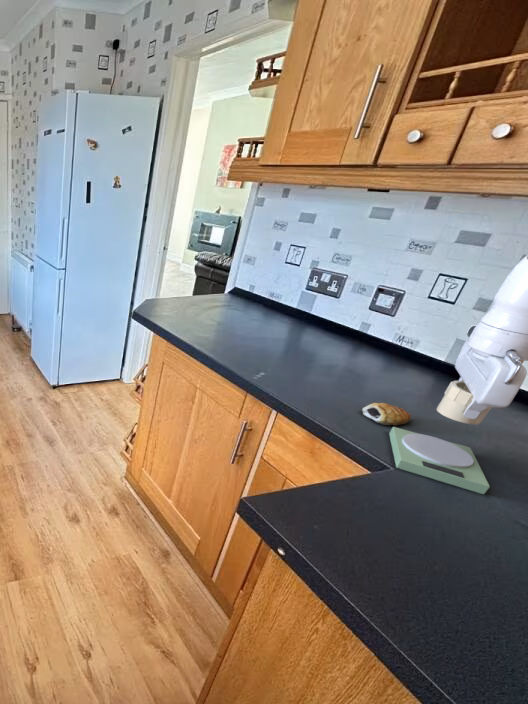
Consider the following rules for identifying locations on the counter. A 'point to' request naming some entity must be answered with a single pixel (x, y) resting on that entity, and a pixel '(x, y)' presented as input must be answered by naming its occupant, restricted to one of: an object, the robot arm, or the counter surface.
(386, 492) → the counter surface
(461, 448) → the scale
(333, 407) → the counter surface
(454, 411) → the cream hollow cylinder
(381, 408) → the pastry
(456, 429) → the counter surface
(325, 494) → the counter surface
